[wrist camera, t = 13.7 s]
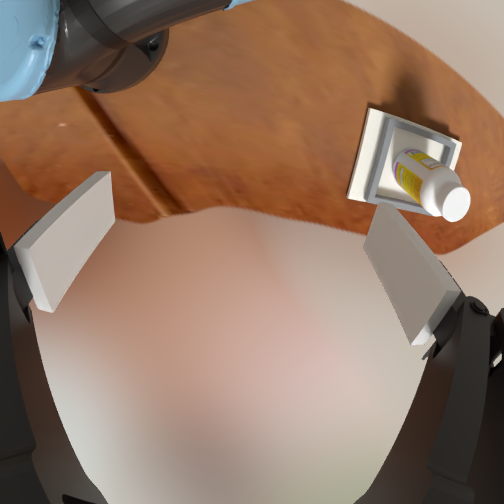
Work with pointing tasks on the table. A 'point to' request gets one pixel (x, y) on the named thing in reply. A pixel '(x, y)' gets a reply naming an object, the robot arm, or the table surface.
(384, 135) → the board
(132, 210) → the table surface
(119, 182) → the table surface
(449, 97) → the table surface
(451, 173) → the supplement bottle
